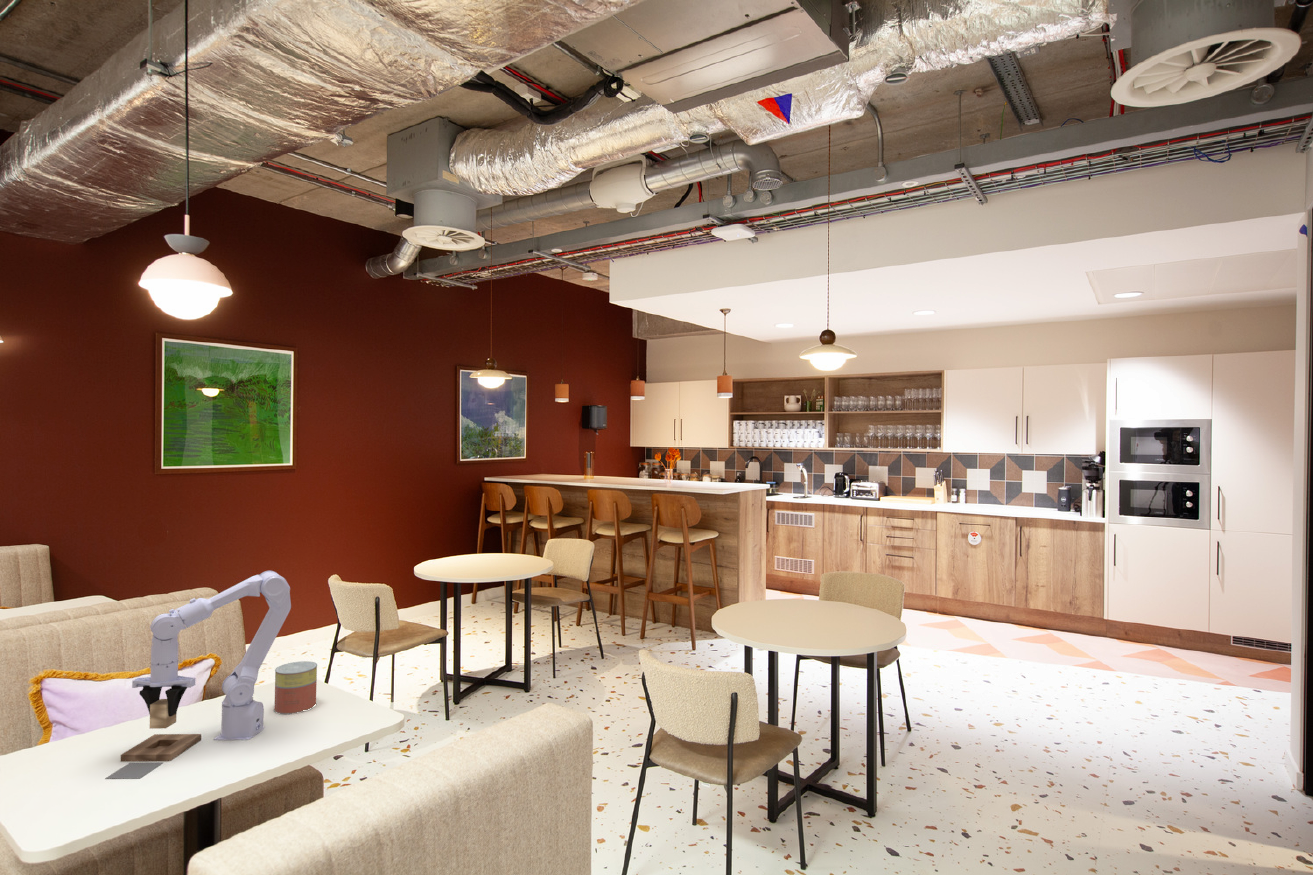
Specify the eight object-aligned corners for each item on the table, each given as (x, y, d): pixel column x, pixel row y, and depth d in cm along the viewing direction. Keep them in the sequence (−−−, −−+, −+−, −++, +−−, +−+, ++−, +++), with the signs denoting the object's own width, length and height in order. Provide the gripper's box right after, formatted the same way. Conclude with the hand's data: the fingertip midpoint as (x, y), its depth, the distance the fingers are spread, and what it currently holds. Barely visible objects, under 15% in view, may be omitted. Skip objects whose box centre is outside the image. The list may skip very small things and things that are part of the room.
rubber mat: (163, 764, 166) (163, 762, 166) (140, 780, 158) (140, 778, 158) (130, 764, 165) (130, 762, 165) (104, 780, 157) (104, 778, 157)
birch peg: (176, 721, 175) (176, 698, 175) (165, 728, 171) (166, 704, 171) (160, 722, 174) (161, 698, 175) (149, 728, 170) (150, 704, 171)
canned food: (324, 700, 208) (324, 662, 209) (301, 715, 197) (302, 674, 197) (289, 699, 209) (290, 660, 210) (265, 713, 198) (266, 672, 198)
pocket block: (201, 741, 179) (201, 733, 179) (170, 762, 167) (170, 754, 167) (154, 741, 178) (154, 734, 178) (120, 762, 166) (120, 754, 166)
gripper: (123, 666, 169) (122, 721, 168) (183, 666, 169) (182, 720, 169) (144, 658, 176) (142, 710, 175) (201, 657, 176) (199, 710, 176)
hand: (163, 714), depth 173 cm, fingers closed on birch peg, 4 cm apart
